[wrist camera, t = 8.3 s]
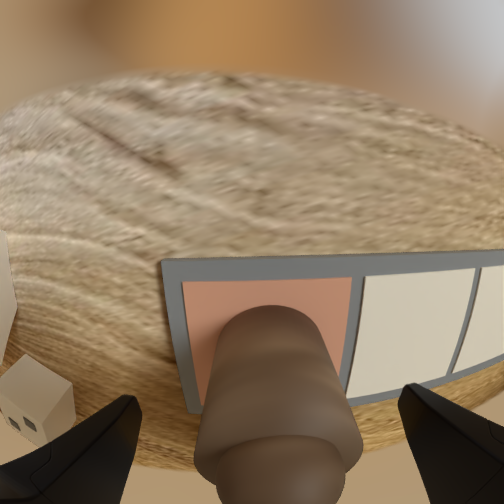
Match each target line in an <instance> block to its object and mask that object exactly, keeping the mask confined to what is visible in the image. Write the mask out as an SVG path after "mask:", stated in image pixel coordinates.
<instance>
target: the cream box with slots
mask: <svg viewBox="0 0 504 504" xmlns="http://www.w3.org/2000/svg"><path fill="white" fill-rule="evenodd" d="M0 408H1V411H2V413H3V416H4V418H5V420H6V422H7V424H8V425H10V426H11V427H12V428H13V429H15V430H16V431H17V432H19V433H20V434H21V435H23V436H24V437H25V438H27V439H28V440H29V441H31V442H32V443H34V444H35V445H37V446H38V447H42V446H44V445H45V444H47V443H49V442H52V440H54V439H55V438H57V437H59V436H60V435H62V434H63V433H65V432H67V431H68V430H70V428H71V427H72V425H73V424H74V422H75V421H76V412H75V404H74V395H73V384H72V383H71V382H69V381H68V380H66V379H64V378H63V377H61V376H59V375H58V374H56V373H54V372H53V371H51V370H50V369H48V368H46V367H45V366H43V365H42V364H40V363H39V362H37V361H36V360H34V359H33V358H31V357H30V356H29V355H27V354H24V355H23V356H22V357H21V358H20V359H19V360H18V361H17V362H16V363H15V364H14V365H12V366H11V367H10V368H9V369H8V370H7V371H6V372H5V373H4V374H3V375H2V376H1V377H0Z"/></svg>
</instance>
